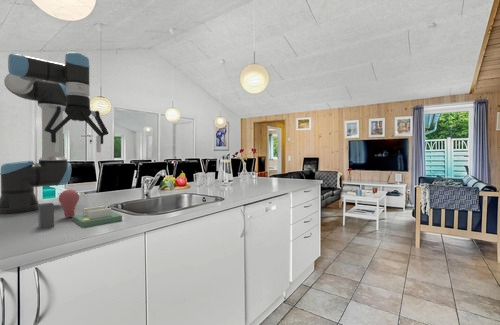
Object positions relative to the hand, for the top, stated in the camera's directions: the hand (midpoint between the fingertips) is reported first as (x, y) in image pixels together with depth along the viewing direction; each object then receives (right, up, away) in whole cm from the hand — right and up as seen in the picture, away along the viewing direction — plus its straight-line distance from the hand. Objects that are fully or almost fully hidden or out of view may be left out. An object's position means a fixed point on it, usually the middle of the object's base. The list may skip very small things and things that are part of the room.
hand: (78, 152), depth 98 cm
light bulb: (-12, -28, +12) cm, 32 cm away
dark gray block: (-11, -28, -2) cm, 30 cm away
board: (+3, -28, +7) cm, 29 cm away
